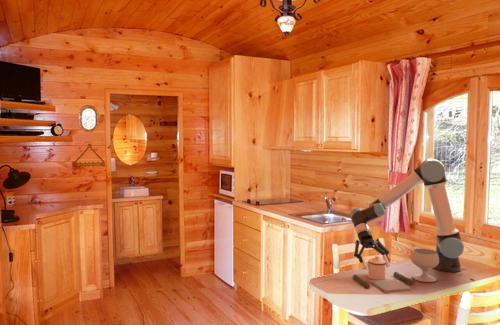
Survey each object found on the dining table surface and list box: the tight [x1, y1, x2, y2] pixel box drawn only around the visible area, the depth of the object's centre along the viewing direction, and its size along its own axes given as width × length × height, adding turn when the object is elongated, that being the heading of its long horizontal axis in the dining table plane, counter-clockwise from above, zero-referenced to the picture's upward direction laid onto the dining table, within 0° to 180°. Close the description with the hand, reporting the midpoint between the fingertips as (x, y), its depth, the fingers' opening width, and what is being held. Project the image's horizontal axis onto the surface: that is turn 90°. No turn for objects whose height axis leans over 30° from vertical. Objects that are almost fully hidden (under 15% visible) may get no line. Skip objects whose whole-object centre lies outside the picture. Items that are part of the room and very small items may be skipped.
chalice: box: [410, 248, 439, 283], centre depth 220 cm, size 14×14×15 cm
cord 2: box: [393, 271, 414, 286], centre depth 218 cm, size 15×2×2 cm, turn 13°
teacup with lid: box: [367, 255, 386, 281], centre depth 223 cm, size 12×9×12 cm
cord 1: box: [352, 274, 371, 289], centre depth 213 cm, size 15×2×2 cm, turn 13°
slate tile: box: [370, 278, 412, 293], centre depth 209 cm, size 14×14×1 cm
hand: (376, 267), depth 222 cm, fingers open, 13 cm apart
